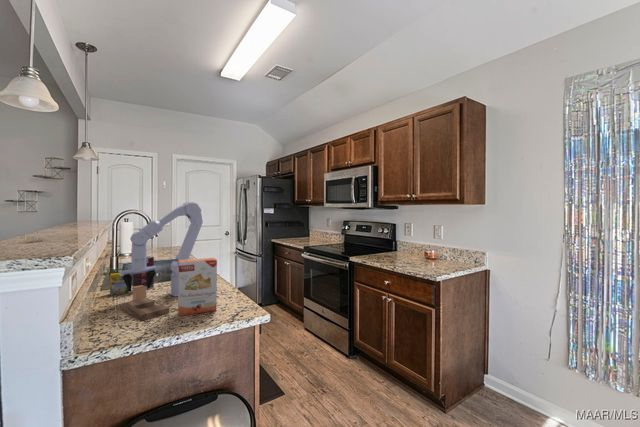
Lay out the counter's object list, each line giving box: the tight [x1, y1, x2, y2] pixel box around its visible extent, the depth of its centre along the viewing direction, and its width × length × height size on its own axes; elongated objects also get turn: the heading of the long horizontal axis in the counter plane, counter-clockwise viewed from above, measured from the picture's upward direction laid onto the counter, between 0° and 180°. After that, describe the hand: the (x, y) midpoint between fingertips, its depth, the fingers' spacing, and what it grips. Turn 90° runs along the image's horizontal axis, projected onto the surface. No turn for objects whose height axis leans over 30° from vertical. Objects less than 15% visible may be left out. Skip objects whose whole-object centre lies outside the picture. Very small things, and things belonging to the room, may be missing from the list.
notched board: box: [120, 297, 170, 321], centre depth 120 cm, size 10×20×2 cm, turn 52°
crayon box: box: [109, 267, 129, 296], centre depth 142 cm, size 7×3×12 cm, turn 126°
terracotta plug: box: [132, 285, 147, 301], centre depth 133 cm, size 4×4×6 cm
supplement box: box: [132, 256, 155, 291], centre depth 149 cm, size 9×5×16 cm, turn 168°
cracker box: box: [177, 257, 218, 317], centre depth 119 cm, size 14×6×21 cm, turn 117°
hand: (139, 289), depth 132 cm, fingers open, 7 cm apart
